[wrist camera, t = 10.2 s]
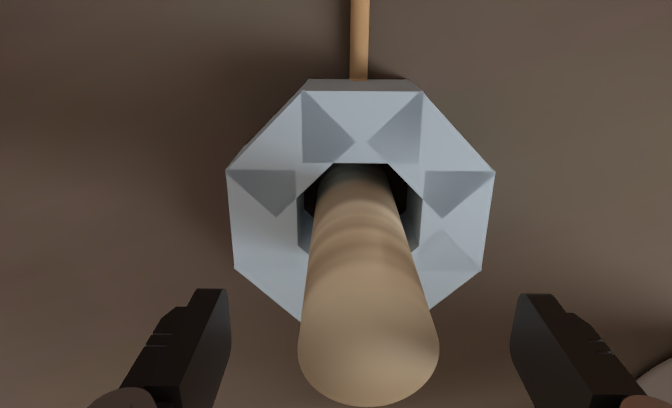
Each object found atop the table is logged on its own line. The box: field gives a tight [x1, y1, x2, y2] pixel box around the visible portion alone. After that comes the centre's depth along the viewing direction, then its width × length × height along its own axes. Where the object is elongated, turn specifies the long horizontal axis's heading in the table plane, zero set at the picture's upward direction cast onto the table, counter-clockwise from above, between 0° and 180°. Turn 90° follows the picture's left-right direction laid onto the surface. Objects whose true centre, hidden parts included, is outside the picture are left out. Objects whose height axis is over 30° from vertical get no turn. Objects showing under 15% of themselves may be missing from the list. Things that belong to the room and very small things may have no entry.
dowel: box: [297, 163, 439, 407], centre depth 17 cm, size 4×4×12 cm
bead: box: [225, 78, 496, 322], centre depth 21 cm, size 11×11×4 cm
